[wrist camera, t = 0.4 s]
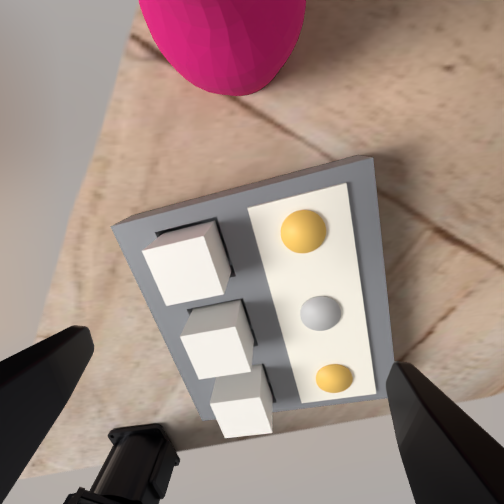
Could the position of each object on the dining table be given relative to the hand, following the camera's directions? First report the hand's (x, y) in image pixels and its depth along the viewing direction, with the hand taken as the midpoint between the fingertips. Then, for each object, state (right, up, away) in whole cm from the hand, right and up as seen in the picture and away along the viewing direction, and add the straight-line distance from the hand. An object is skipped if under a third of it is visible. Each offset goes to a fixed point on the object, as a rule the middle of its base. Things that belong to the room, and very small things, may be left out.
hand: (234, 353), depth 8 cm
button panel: (+2, -1, +15) cm, 15 cm away
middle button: (-2, -3, +13) cm, 13 cm away
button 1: (-3, +3, +11) cm, 12 cm away
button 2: (0, -8, +15) cm, 17 cm away
